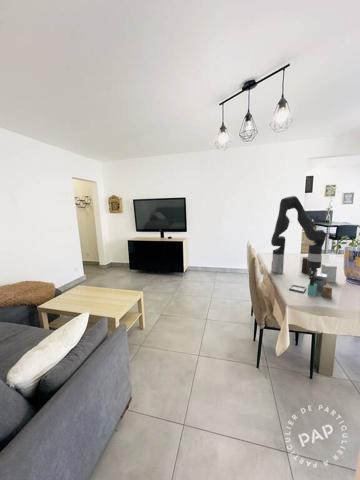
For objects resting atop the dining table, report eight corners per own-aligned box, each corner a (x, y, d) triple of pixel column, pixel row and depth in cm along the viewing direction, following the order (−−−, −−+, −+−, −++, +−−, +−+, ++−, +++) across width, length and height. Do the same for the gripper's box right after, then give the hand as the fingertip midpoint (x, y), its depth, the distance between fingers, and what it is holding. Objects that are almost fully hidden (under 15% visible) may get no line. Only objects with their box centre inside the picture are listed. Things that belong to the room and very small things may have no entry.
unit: (309, 289, 137) (310, 274, 135) (311, 286, 143) (312, 271, 141) (325, 292, 131) (326, 277, 130) (326, 289, 137) (327, 274, 135)
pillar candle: (302, 274, 169) (304, 257, 167) (300, 270, 178) (301, 255, 175) (315, 275, 165) (317, 258, 163) (312, 271, 174) (314, 255, 172)
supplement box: (335, 282, 149) (337, 266, 147) (325, 282, 150) (326, 266, 148) (330, 279, 156) (331, 263, 154) (320, 278, 157) (321, 263, 155)
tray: (289, 289, 138) (289, 288, 138) (291, 285, 145) (292, 284, 144) (303, 293, 132) (303, 291, 132) (306, 288, 139) (306, 287, 138)
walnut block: (322, 297, 125) (323, 286, 124) (323, 294, 129) (323, 284, 128) (331, 298, 123) (332, 288, 121) (331, 296, 126) (332, 286, 125)
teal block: (307, 294, 130) (308, 284, 129) (308, 292, 133) (309, 282, 132) (315, 296, 127) (316, 286, 126) (316, 293, 130) (317, 283, 129)
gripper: (320, 263, 119) (318, 288, 121) (322, 258, 129) (320, 281, 132) (305, 261, 124) (304, 285, 126) (309, 257, 134) (307, 279, 137)
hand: (312, 283), depth 129 cm, fingers open, 8 cm apart
